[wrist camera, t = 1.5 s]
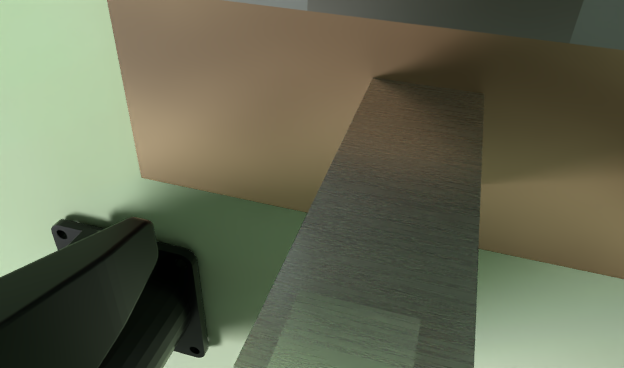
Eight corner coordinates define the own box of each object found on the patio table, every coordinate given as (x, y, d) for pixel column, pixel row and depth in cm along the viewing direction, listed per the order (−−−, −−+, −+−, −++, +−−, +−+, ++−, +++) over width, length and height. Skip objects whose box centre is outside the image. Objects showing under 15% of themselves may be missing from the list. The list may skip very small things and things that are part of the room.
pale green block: (450, 229, 15) (403, 660, 7) (358, 210, 16) (223, 591, 8) (500, 29, 12) (512, 444, 4) (379, 15, 12) (177, 350, 4)
